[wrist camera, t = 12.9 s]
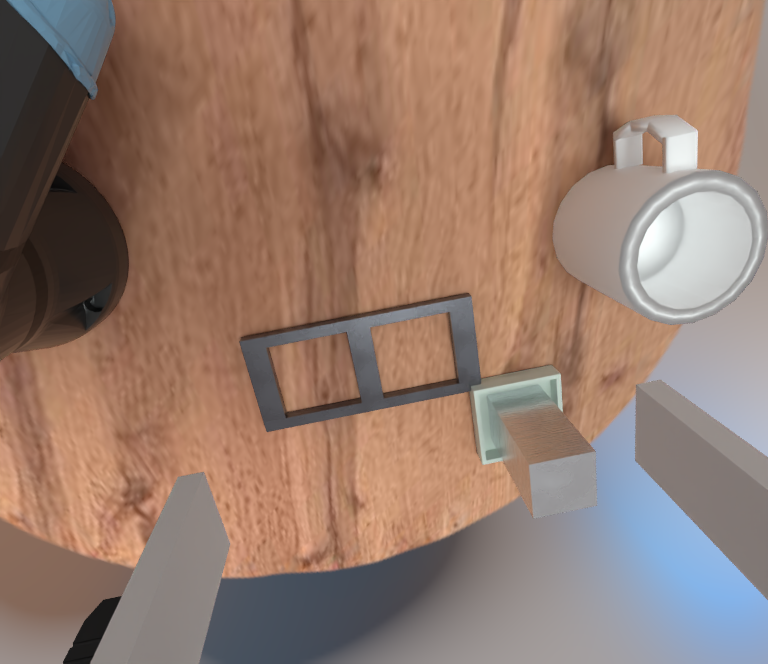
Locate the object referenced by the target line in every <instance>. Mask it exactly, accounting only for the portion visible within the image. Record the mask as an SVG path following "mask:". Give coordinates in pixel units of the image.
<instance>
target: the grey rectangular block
mask: <svg viewBox="0 0 768 664" xmlns="http://www.w3.org/2000/svg"><path fill="white" fill-rule="evenodd" d="M487 404H488V413H489V421H490V430H491V439H492V442H493V443H494V445H495V447H496V449H497V451H498V453H499V455H500V457H501V459H502V460H503V462H504V464H505V466H506V468H507V470H508V472H509V474H510V475H511V477H512V479H513V481H514V483H515V485H516V487H517V489H518V491H519V492H520V494H521V496H522V498H523V500H524V502H525V504H526V506H527V508H528V509H529V511H530V513H531V515H532V517H533V518H539V517H544V516H548V515H554V514H559V513H563V512H568V511H573V510H578V509H583V508H588V507H592V506H597V489H596V451H595V450H594V449H593V448H592V447H591V445H590V444H589V443H588V442H587V441H586V439H585V438H584V437H583V436H582V435H581V434H580V432H579V431H578V430H577V429H576V428H575V426H574V425H573V424H572V423H571V422H570V421H569V419H568V418H567V417H566V416H565V415H564V414H563V412H562V411H561V410H560V409H559V408H558V406H557V405H556V404H555V403H554V402H553V401H552V399H551V398H550V397H549V396H548V395H547V394H546V392H545V391H544V390H543V389H542V388H541V386H540V385H539V384H538V385H533V386H528V387H523V388H518V389H513V390H508V391H503V392H498V393H493V394H488V395H487Z"/></svg>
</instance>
